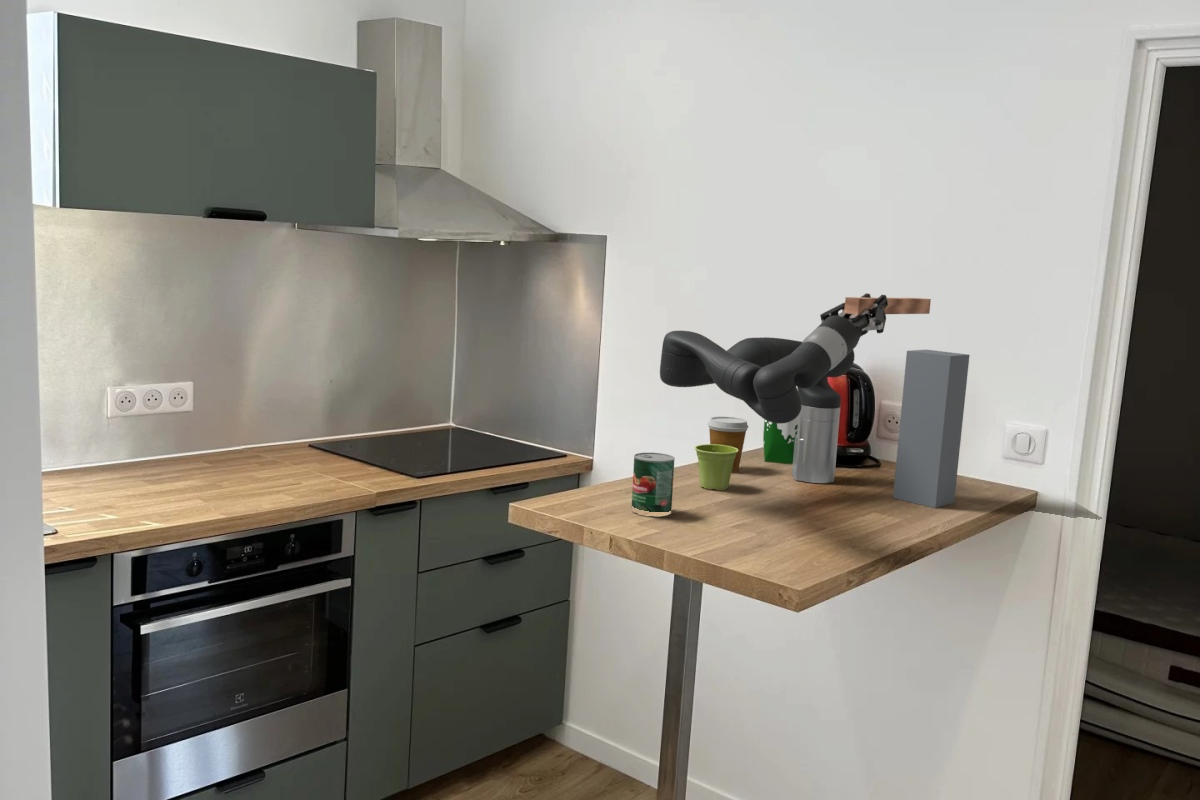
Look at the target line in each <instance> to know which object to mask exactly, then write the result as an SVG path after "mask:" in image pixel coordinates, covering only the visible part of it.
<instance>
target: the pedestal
mask: <svg viewBox="0 0 1200 800" xmlns="http://www.w3.org/2000/svg"><path fill="white" fill-rule="evenodd" d="M905 356H906V357H905V358H906V359H905V367H904V368H905V369H904V376H903V386H902V387H903V389H902V399H901V410H900V419H899V420H900V421H899V430H898V440H897V451H896V462H895V469H894V470H895V471H894V481H893V490H892V491H893V492H892V493H893V494H892V499H896V500H900V501H904V502H909V503H913V504H917V505H920V506H925V507H929V508H933V509H937V508H940V507H941V508H942V507H943V506H948V505H952V504H955V498H956V488H957V478H958V468H959V461H960V451H961V450H960V449H961V441H962V432H963V423H964V422H963V421H964V413H965V412H964V410H965V404H966V403H965V402H966V392H967V384H968V374H969V373H968V372H969V364H970V357H971V356H970V354H967V353H966V354H965V353H959V352H950V351H949V352H948V351H943V350H942V351H941V350H932V349H914V350H906V355H905Z"/></svg>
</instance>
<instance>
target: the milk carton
mask: <svg viewBox="0 0 1200 800" xmlns="http://www.w3.org/2000/svg"><path fill="white" fill-rule="evenodd" d="M797 390H798V389H797ZM763 421H764V422H763V436H762V437H763V440H762V442H763V443H762V444H763V455H764V456H763V457H764V462H767V463H776V464H777V463H778V464H789V465H793V454H794V442H795V435H797V427H798V416H797V417H796V418H795V419H794V420H792V421H790V422H788V423H782V424H779V423H772V422H769V421H767V420H765V419H763Z"/></svg>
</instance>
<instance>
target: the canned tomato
mask: <svg viewBox="0 0 1200 800" xmlns="http://www.w3.org/2000/svg"><path fill="white" fill-rule="evenodd" d="M675 458H676V457H675V456H673V455H671V454H667V453H662V452H638V453H634V455H633V476H632V496H631V507H632V506H633V507H634V508H637V509H639V510H644V511H649V512H669V511H672V507H673V493H674V489H673V488H674V487H673V486H674V473H675V471H674V470H675V460H676V459H675Z"/></svg>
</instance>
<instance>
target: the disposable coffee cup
mask: <svg viewBox="0 0 1200 800" xmlns="http://www.w3.org/2000/svg"><path fill="white" fill-rule="evenodd" d="M708 421H709V422H708V423H707V426H708V428H709V444H716V445H725V446H731V447H734V448H737V449H738V453H736V457H735V459H734V462H733V467H732V472H731V474H732V473H737V472H739V469H740V464H741V458H742V453H743V448H744V443H745V440H746V434H747V431H748V429H749V425H748V420H746V419H743V418H740V417H734V416H713V417H710V418H709V420H708Z"/></svg>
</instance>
